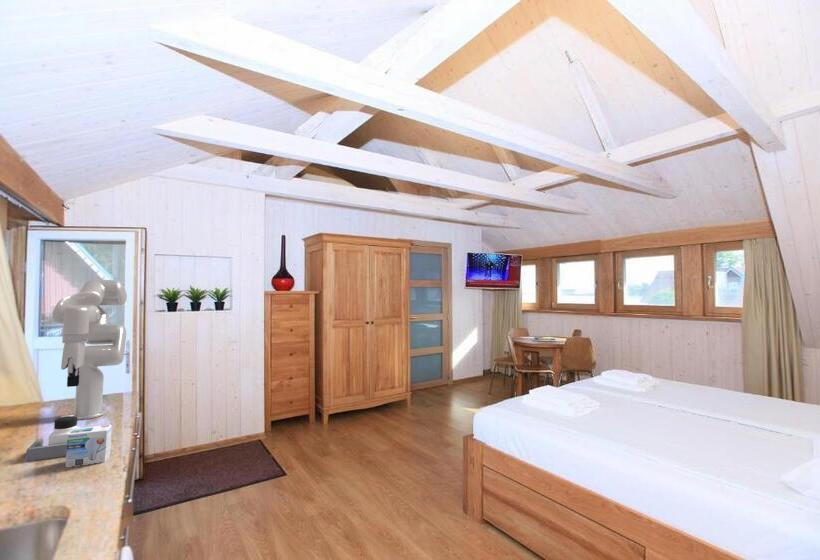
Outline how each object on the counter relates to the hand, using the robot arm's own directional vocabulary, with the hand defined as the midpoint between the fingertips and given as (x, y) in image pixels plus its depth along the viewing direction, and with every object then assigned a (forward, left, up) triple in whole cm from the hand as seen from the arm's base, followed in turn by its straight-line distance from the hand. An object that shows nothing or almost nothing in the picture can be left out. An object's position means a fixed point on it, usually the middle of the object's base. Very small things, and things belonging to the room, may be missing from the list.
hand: (72, 385), depth 147 cm
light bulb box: (+26, +11, -21) cm, 35 cm away
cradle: (+13, 0, -20) cm, 24 cm away
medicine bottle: (+13, +1, -21) cm, 24 cm away
